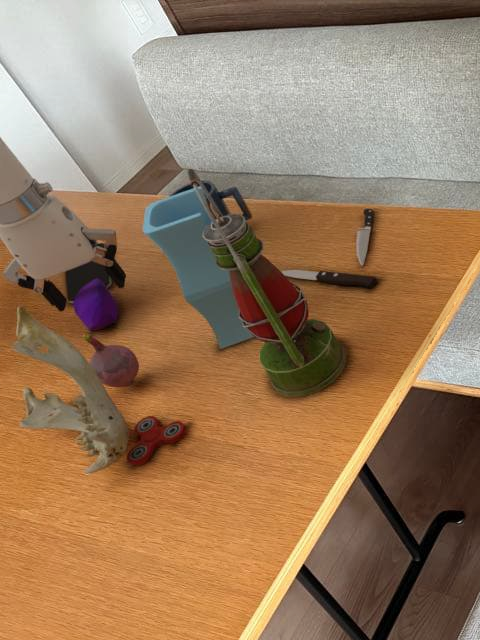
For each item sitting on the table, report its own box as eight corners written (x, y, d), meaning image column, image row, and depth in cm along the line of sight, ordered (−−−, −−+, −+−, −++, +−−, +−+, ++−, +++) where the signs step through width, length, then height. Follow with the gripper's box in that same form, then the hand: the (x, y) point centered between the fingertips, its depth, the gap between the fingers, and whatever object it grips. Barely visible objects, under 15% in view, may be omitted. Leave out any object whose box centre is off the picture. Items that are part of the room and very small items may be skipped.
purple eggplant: (102, 262, 130) (100, 305, 119) (120, 286, 133) (120, 330, 122) (73, 274, 129) (69, 319, 118) (92, 298, 133) (90, 344, 122)
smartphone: (67, 302, 131) (63, 258, 141) (70, 306, 131) (66, 261, 141) (110, 283, 132) (103, 241, 142) (113, 286, 132) (105, 244, 142)
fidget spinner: (122, 463, 101) (128, 469, 102) (177, 448, 101) (182, 455, 101) (135, 417, 106) (141, 423, 107) (187, 403, 106) (192, 409, 107)
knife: (351, 266, 120) (365, 268, 121) (351, 262, 120) (365, 264, 120) (361, 211, 130) (373, 212, 131) (361, 207, 130) (373, 209, 130)
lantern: (358, 380, 104) (249, 181, 82) (282, 417, 102) (150, 224, 81) (332, 322, 113) (228, 130, 92) (262, 355, 112) (139, 168, 90)
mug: (194, 261, 132) (164, 216, 126) (194, 236, 138) (165, 191, 131) (259, 238, 133) (233, 192, 126) (257, 213, 138) (231, 168, 132)
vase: (272, 330, 115) (201, 215, 101) (220, 349, 115) (141, 236, 100) (270, 298, 120) (202, 185, 106) (220, 316, 120) (145, 204, 106)
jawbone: (146, 391, 96) (51, 405, 89) (145, 507, 104) (58, 528, 98) (83, 297, 110) (-3, 303, 103) (86, 407, 119) (8, 418, 112)
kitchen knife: (372, 290, 116) (378, 280, 118) (369, 285, 116) (376, 275, 117) (276, 278, 124) (283, 269, 125) (273, 273, 123) (280, 264, 124)
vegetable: (128, 366, 116) (85, 316, 109) (159, 371, 114) (118, 319, 107) (101, 397, 113) (55, 347, 106) (132, 403, 110) (88, 351, 103)
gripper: (78, 168, 116) (147, 261, 128) (-37, 211, 115) (43, 301, 127) (72, 193, 110) (145, 287, 123) (-48, 238, 110) (37, 329, 122)
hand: (93, 294), depth 125 cm, fingers open, 9 cm apart
